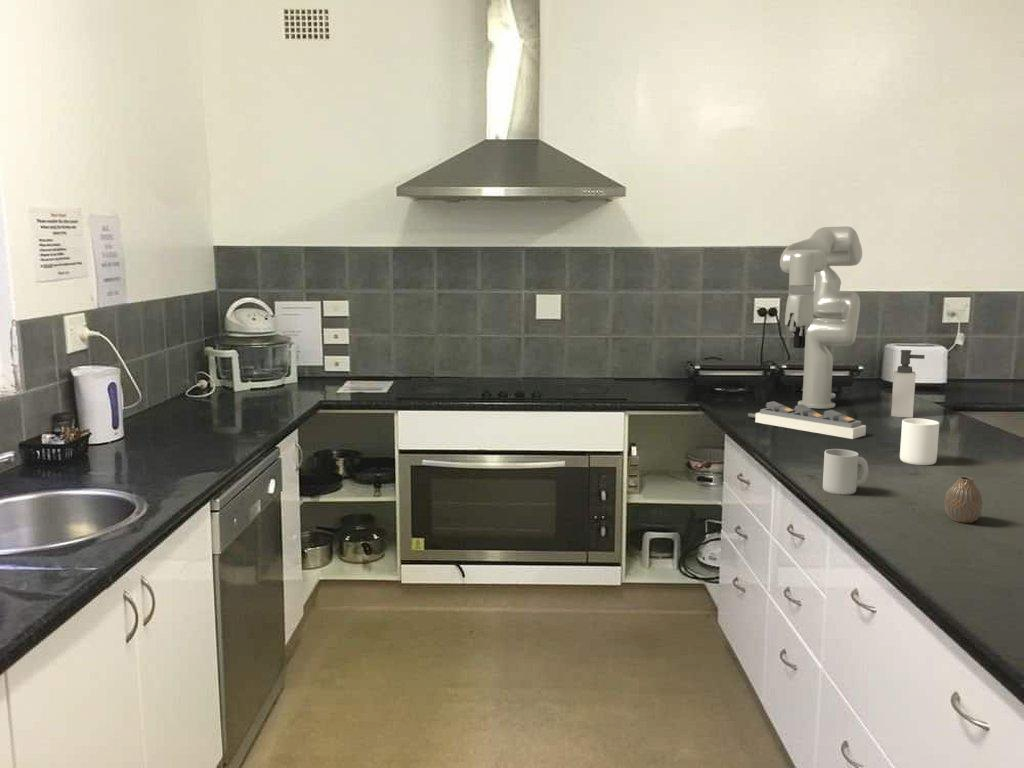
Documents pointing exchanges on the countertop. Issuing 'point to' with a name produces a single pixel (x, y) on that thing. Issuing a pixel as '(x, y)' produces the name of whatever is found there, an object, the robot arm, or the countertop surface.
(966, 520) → the vase
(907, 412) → the soap dispenser
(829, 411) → the rocker
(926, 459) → the mug
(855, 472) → the cup
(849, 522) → the countertop surface
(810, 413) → the rocker
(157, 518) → the countertop surface
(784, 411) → the rocker
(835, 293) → the robot arm
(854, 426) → the power strip
